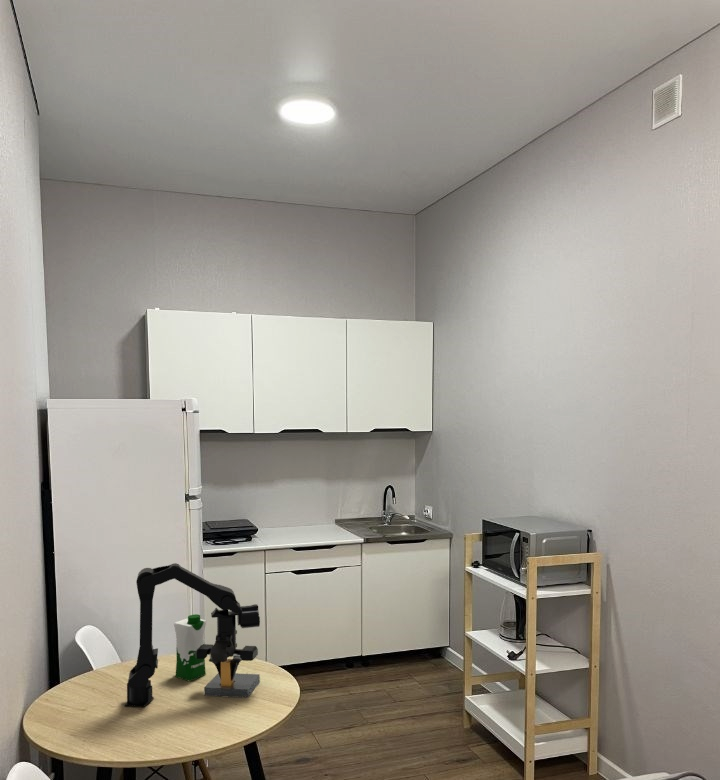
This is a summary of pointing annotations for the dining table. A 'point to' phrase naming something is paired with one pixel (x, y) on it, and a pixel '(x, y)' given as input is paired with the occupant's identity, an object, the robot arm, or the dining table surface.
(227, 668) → the tan rectangular box
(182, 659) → the milk carton
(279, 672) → the dining table surface
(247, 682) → the gray slab with hole
